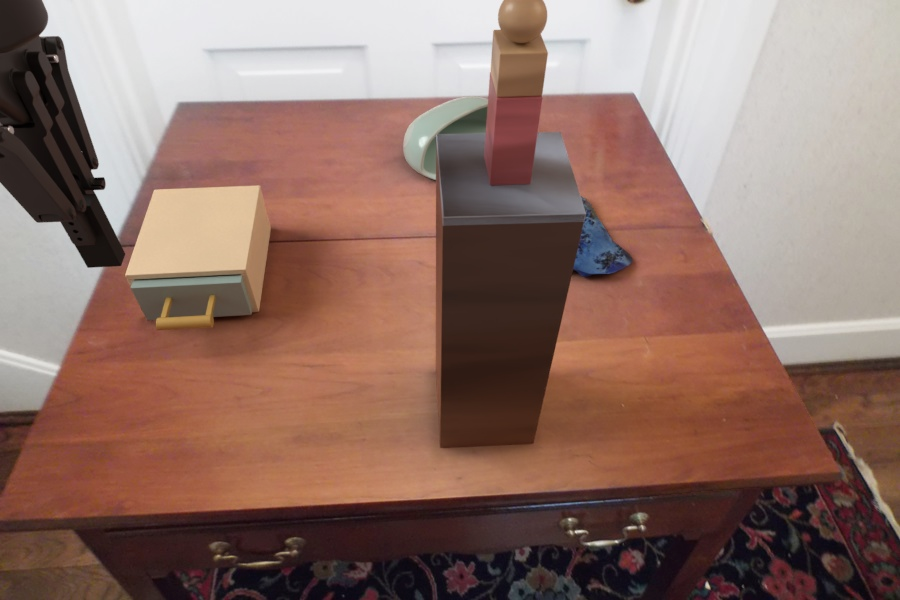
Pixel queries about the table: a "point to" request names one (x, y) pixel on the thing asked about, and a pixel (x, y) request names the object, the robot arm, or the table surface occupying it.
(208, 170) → the table surface
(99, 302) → the table surface
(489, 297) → the stand
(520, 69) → the doll
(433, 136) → the planter
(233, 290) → the drawer
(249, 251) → the cabinet
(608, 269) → the rock
